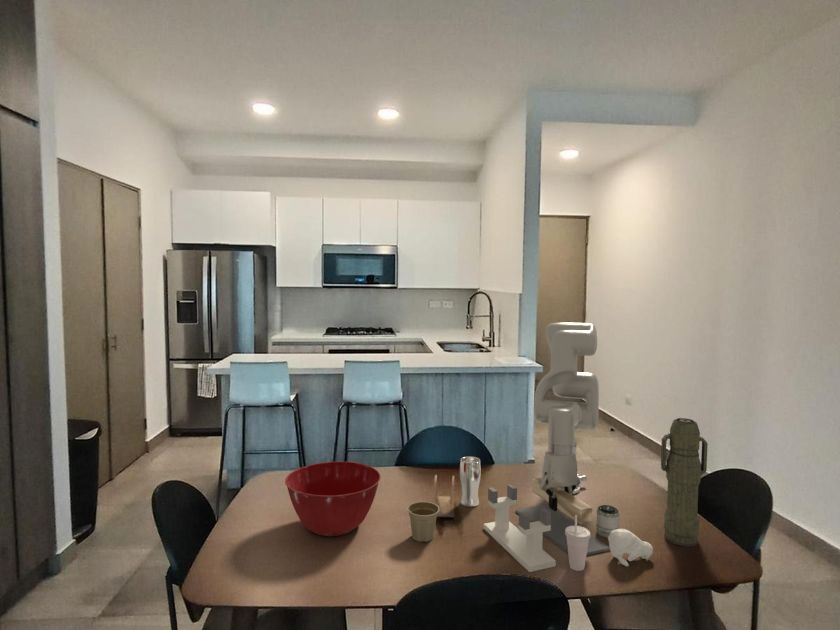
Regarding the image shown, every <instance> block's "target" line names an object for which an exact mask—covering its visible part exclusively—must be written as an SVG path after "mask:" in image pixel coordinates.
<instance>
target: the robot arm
mask: <svg viewBox="0 0 840 630" xmlns="http://www.w3.org/2000/svg"><path fill="white" fill-rule="evenodd" d="M545 338H546V342H547V345H548V348H549V351H550V370H549V372H548V373H546V374H545V375H544V376H543V377H542V378H541V379H540V381H539V382H538V384H537V386H536V389H535V391H534V400H533V401H534V402H533V403H534V405H533V416H534V419H535V421H536V422H537V423H539V424H543V425H547V428H548V429H547V430H548V431H547V451H545V453H544V456H543V461H542V468H541V469H542V470H541V478H542V482H541V484H540V486H539V488H540V489H542V490H543V491H545V492H546V493H547V495H549V503H548V505H549V508H551V509H552V510H553V511H558V509H557V498H556V492H557V488H561V489H563V490H564V491H566V492H567V493H569V494H571V495H572V496H573V495H574V494H575V495H576V494H578V493H579V492H580V491H581V482H586V481H587V480H588V477H587V476H586V475H579V474H578V460H577V452H578V451H577V446H578V445H577V444H578V443H577V442H578V441H577V439H576V437H575V430H577V431H578V430H579V431H594V430H596V429H597V428H598V426H599V412H600V411H599V408H600V407H599V406H600V405H599V400H600V399H599V398H600V397H599V396H600V395H599V393H600V392H599V389H600V388H599V380H598V377H597V376H596V375H595V374H594V373H592V372H584V371H583V372H581V371H578V356H581V357H583V356H586V357H590V356H594V355H595V354H596V352H597V349H598V335H597V328H596V325H594V324H593V323H589V322H568V321H567V322H563V321H562V322H551V323H549V324H548V325H547V326H546V328H545ZM551 388H552V392H553V395H554V396H556V397H560V398H563V399H564V398H566V399H576V400H577V399H580V400H584V401H585V402H576V401H571V400H570V401H568V400H567V401H566V400H557V399H556V400H554V399H545V398H544V396H545V394H546V392H547V391H548V390H550V389H551ZM547 484H549V485H548V488H547V487H546V486H547Z"/></svg>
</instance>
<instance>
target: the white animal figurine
mask: <svg viewBox="0 0 840 630" xmlns="http://www.w3.org/2000/svg"><path fill="white" fill-rule="evenodd" d="M607 540H608V546H609V547H610V550H609V551H610V553H611V555H612V556H613V557H614V558H615V559H617V560H618V561H619V564H621V565H623V566H625V567H629V566H630V565H629V563H628V561H629V562H632V561H634V560H635V559H637V558H639V557H640V558H641V559H643V560H644V559H645V561H646V562H648V560H649V559H650V557H651V556H653V553H654V548H653V545H652V544H650V543H649V542H648V541H642V540H641V539H640V538H639V537H638V536H637V535H636V534H635V533H634V532H631V531H630V530H628V529H625V528H619V529H616V530H612V531H611V533H610V535H609V537H608V538H607ZM624 554H626V555H628V557H627V560H628V561H627V560H626V559H625V558H624V557H623V555H624Z"/></svg>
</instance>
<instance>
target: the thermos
mask: <svg viewBox="0 0 840 630" xmlns="http://www.w3.org/2000/svg"><path fill="white" fill-rule="evenodd" d="M698 425H699V424H698V422H697V421H694V420H693V419H690V418H685V417H684V418H682V417H679V418H674V419H673V421H672V423H671V425H670V427H669V433H667V434H664V435H663V437H662V438H661V452H660V453H661V454H660V468H661V471H664V472H666V474H665V478H666V480H667V492H666V493H667V494H666V495H667V497H666V510H665V511H664V517H663V518H664V521H663V527H664V538H665V539H666V540H667V541H668V542H670V543H672V544H675V545H677V546H680V547H681V546H682V547H694V546H697V545H698V543H699V541H698V540H699V539H698V537H699V532H700V519H699V516H698V508H699V507H698V505H699V503H698V502H699V485H700V483H701V481H702V480H701V478H702V477H701V476H702V475H704V474H705V473H707V469H708V468H707V464H708V463H707V462H708V442H707V440H705V438H704V437H702V436H701V432H700V428H699V426H698ZM668 440H669V446H670V447H669V448H670V449H669V450H668V451H669V452H668V455H667V441H668ZM700 442H701V454H700V453H699V450H700ZM700 455H701V457H700ZM700 458H701V460H700Z"/></svg>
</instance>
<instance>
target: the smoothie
mask: <svg viewBox="0 0 840 630" xmlns="http://www.w3.org/2000/svg"><path fill="white" fill-rule="evenodd" d="M574 523H575V526H569V527H567V528H566V529H565V535H566V536H567V546H568V553H567V554H568V562H569V565H568V566H569V568H570V569H571V570H572V571H576V572H581V571H584V570H585V566H586V561H587V556H588V555H587V548H588V542H589V539H590V537H591V535H592V534H591V531H590V530H589V529H588V528H586V527H584V526H581V525H578V522H577V515H575V520H574ZM577 525H578V526H577ZM590 534H591V535H590ZM586 555H587V556H586Z"/></svg>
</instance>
